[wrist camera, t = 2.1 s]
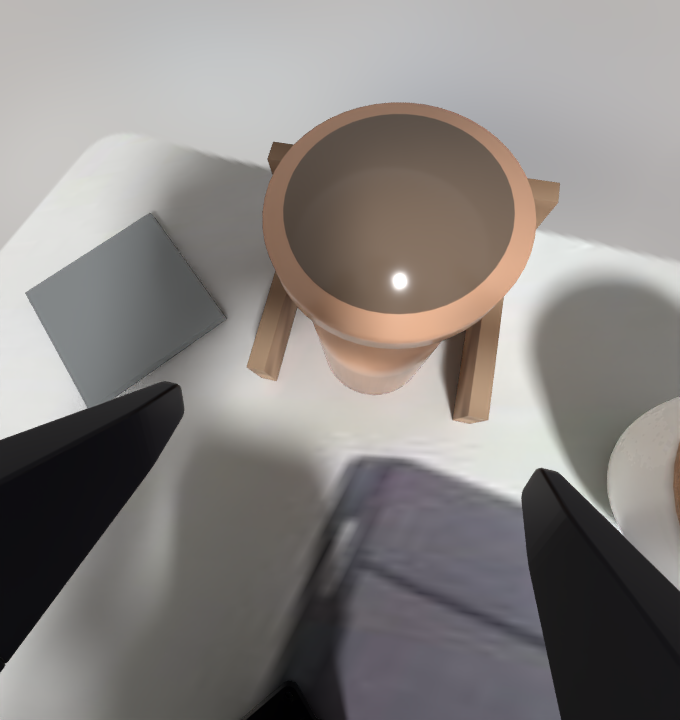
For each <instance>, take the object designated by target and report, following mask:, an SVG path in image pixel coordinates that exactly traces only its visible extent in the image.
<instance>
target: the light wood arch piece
mask: <svg viewBox="0 0 680 720" xmlns="http://www.w3.org/2000/svg"><path fill="white" fill-rule="evenodd" d="M292 146H293V145H292V144H285V143H279V142H273V144H272V147H271V150H270V153H269V156H268V162H269V165H270V168H271V172H272V175H273V174H274V171H275V169H276V168H277V166H278V165H279V163H280V162H281V160H282V158H283V157H284V156H285V155H286V153H287V152H288V151H289V150H290V149H291V147H292ZM527 179H528V178H527ZM528 182H529V184H530V187H531V190H532V194H533V198H534V202H535V210H536V229H537V228H538V226H539V225H540V224H541V223H542V221H543V220H544V219H545V218H546V216H547V215H548V214H549V213H550V212H551V211H552V209H553V208H554V207H555V206H556V205H557V203H558V199H559V188H560V183H555V182H549V181H542V180H535V179H528ZM503 299H504V297H503V298H502V299H501V300H500V301H499V302H498V303H497V304H496V305H495V306H494V307H493V308H492V309H491V310H490V311H489V312H488V313H487V314H486V315H485V316H483V317H482V318H481V319H480V320H479V321H478V322H477V323H475V324H474V325H472V326H471V327H469V328H468V329H466V333H465V340H464V347H463V353H462V360H461V367H460V373H459V380H458V387H457V393H456V400H455V407H454V413H453V420H455V421H459V422H464V423H468V424H471V423H476V422H481V421H486V420H488V418H489V410H490V402H491V394H492V386H493V378H494V370H495V362H496V354H497V346H498V338H499V330H500V322H501V314H502V307H503ZM296 310H297V306H296V305H295V303H294V302H293V301H292V300H291V298H290V297H289V295H288V294H287V292H286V291H285V289H284V287H283V285H282V283H281V281H280V279H279V277H278V275H277V272H276V271H275V274H274V277H273V281H272V284H271V287H270V291H269V294H268V297H267V301H266V304H265V307H264V311H263V314H262V317H261V321H260V324H259V327H258V331H257V334H256V337H255V341H254V344H253V347H252V351H251V354H250V357H249V361H248V364H247V368H248V369H250V370H251V371H253V372H254V373H256V374H257V375H258V376H260V377H261V378H265V379H270V380H274V381H277V378H278V375H279V371H280V367H281V364H282V360H283V357H284V353H285V349H286V346H287V342H288V339H289V335H290V331H291V328H292V324H293V320H294V317H295V313H296Z"/></svg>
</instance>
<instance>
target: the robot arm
mask: <svg viewBox="0 0 680 720" xmlns="http://www.w3.org/2000/svg"><path fill="white" fill-rule="evenodd" d="M183 414H184V403H183V396H182V390H181V387H180V386H179V385H178V384H175V383H171V382H166V381H163V382H160V383H157V384H154V385H151V386H149V387H146V388H143V389H140V390H138V391H135V392H132V393H129V394H126V395H124V396H121V397H118V398H115V399H113V400H110V401H107V402H104V403H102V404H99V405H96V406H93V407H90V408H88V409H85V410H82V411H79V412H77V413H74V414H71V415H68V416H66V417H63V418H60V419H57V420H54V421H52V422H49V423H46V424H43V425H41V426H38V427H35V428H32V429H30V430H27V431H24V432H21V433H18V434H16V435H13V436H10V437H7V438H5V439H2V440H0V672H1V671H2V670H3V668H4V667H5V663H7V662H8V661H9V660H10V658H11V657H12V656H13V654H14V653H15V652H16V650H17V649H18V648H19V646H20V645H21V644H22V642H23V641H24V640H25V638H26V637H27V635H28V634H29V633H30V631H31V630H32V629H33V627H34V626H35V625H36V623H37V622H38V621H39V619H40V618H41V617H42V615H43V614H44V613H45V611H46V610H47V609H48V607H49V606H50V605H51V603H52V602H53V600H54V599H55V598H56V596H57V595H58V594H59V592H60V591H61V590H62V588H63V587H64V586H65V584H66V583H67V582H68V580H69V579H70V578H71V576H72V575H73V574H74V572H75V571H76V570H77V568H78V567H79V565H80V564H81V563H82V561H83V560H84V559H85V557H86V556H87V555H88V553H89V552H90V551H91V549H92V548H93V547H94V545H95V544H96V543H97V541H98V540H99V539H100V537H101V536H102V534H103V533H104V532H105V530H106V529H107V528H108V526H109V525H110V524H111V522H112V521H113V520H114V518H115V517H116V516H117V514H118V513H119V512H120V510H121V509H122V508H123V506H124V505H125V504H126V502H127V501H128V499H129V498H130V497H131V495H132V494H133V493H134V491H135V490H136V489H137V487H138V486H139V485H140V483H141V482H142V481H143V479H144V478H145V477H146V475H147V474H148V472H149V471H150V470H151V468H152V467H153V465H154V464H155V462H156V461H157V459H158V457H159V456H160V454H161V452H162V451H163V449H164V447H165V446H166V444H167V442H168V441H169V439H170V437H171V436H172V434H173V432H174V430H175V429H176V427H177V425H178V424H179V422H180V420H181V419H182V417H183ZM521 499H522V510H523V519H524V529H525V539H526V549H527V557H528V565H529V570H530V575H531V580H532V585H533V590H534V594H535V599H536V604H537V608H538V613H539V618H540V622H541V627H542V632H543V636H544V641H545V646H546V650H547V655H548V660H549V665H550V669H551V674H552V679H553V683H554V688H555V693H556V697H557V702H558V707H559V711H560V716H561V720H680V591H679V590H678V589H677V588H676V587H675V586H674V585H673V584H672V583H671V582H670V581H669V580H668V579H667V578H666V577H665V576H664V575H663V574H662V573H661V572H660V571H659V570H658V569H657V568H656V567H655V566H654V565H653V564H652V563H651V562H650V561H649V560H648V559H647V558H646V557H644V556H643V555H642V554H641V553H640V552H639V551H638V550H637V549H636V548H635V547H634V546H633V545H632V544H631V543H630V542H629V541H628V540H627V539H626V538H625V537H624V536H623V535H622V534H621V533H620V532H619V531H618V530H617V529H616V528H615V527H614V526H613V525H612V524H611V523H610V522H609V521H608V520H607V519H606V518H605V517H604V516H603V515H602V514H601V513H600V512H599V511H597V510H596V509H595V508H594V507H593V506H592V505H591V504H590V503H589V502H588V501H587V500H586V499H585V498H584V497H583V496H582V495H581V494H580V493H579V492H578V491H577V490H576V489H575V488H574V487H573V486H572V485H571V484H570V483H569V482H568V481H567V480H566V479H565V478H564V477H563V476H562V475H561V474H559V473H558V472H556V471H552V470H548V469H544V468H538V469H537V470H535V472H534V473H533V475H532V476H531V478H530V480H529V481H528V483H527V484H526V486H525V487H524V489H523V492H522V498H521ZM286 692H290V693H291V694H292V695H293V698H291V699H289V698H287V697H286V696H285V693H286ZM241 720H321V719H319V718H316V716H315V714H314V713H313V711H312V709H311V707H310V706H309V704H308V702H307V701H306V699H305V697H304V695H303V694H302V692H301V690H300V689H299V687H298V685H297V684H296V683H295V682H293V681H287V682H285V683H283V684H282V685H281V686H280V687H279V688H278V689H276V690H275V691H274V692H273V693H272V694H271V695H269V696H268V697H267V698H266V699H265V700H264V701H262V702H261V703H260V704H259V705H258V706H257V707H255V708H254V709H253V710H252V711H251V712H250V713H248V714H247V715H246V716H245V717H244V718H243V719H241Z"/></svg>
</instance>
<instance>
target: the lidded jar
mask: <svg viewBox="0 0 680 720" xmlns="http://www.w3.org/2000/svg"><path fill="white" fill-rule="evenodd" d="M607 491H608V497H609V502H610V506H611V509H612V512H613V514H614V517H615V520H616V522H617V524H618V526H619V528H620V530H621V532H622V534H623V536H624V537H625V538H626V539H627V540H628V541H629V542H630V543H631V544H632V545H633V546H634V547H635V548H636V549H637V550H638V551H639V552H640V553H641V554H642V555H643V556H644V557H646V558H647V559H648V560H649V561H650V562H651V563H652V564H653V565H654V566H655V567H656V568H657V569H658V570H659V571H660V572H661V573H662V574H663V575H664V576H665V577H666V578H667V579H668V580H669V581H670V582H671V583H672V584H673V585H674V586H675V587H676V588H677V589H678V590H679V591H680V396H679V397H676V398H674V399H671V400H669V401H667V402H664V403H662V404H660V405H658V406H656V407H654V408H652V409H651V410H649V411H647V412H646V413H644V414H643V415H642V416H640V417H639V418H638V419H637V420H635V421H634V422H633V423H632V424H631V425H630V426H629V427H628V428H627V429H626V430H625V431H624V433H623V434H622V435H621V437H620V438H619V439H618V441H617V443H616V445H615V448H614V450H613V452H612V454H611V457H610V461H609V464H608V471H607Z"/></svg>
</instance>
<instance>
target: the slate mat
mask: <svg viewBox="0 0 680 720" xmlns="http://www.w3.org/2000/svg"><path fill="white" fill-rule="evenodd" d="M25 294H26V295H27V297H28V299H29V301H30V303H31V305H32V306H33V308H34V310H35V312H36V314H37V316H38V317H39V319H40V321H41V323H42V325H43V327H44V328H45V330H46V332H47V334H48V336H49V338H50V340H51V341H52V343H53V345H54V347H55V349H56V351H57V352H58V354H59V356H60V358H61V360H62V362H63V363H64V365H65V367H66V369H67V371H68V373H69V374H70V376H71V378H72V380H73V382H74V384H75V385H76V387H77V389H78V391H79V393H80V395H81V397H82V398H83V400H84V402H85V404H86V406H87V408H90V407H93V406H96V405H99V404H102V403H104V402H107V401H110V400H111V399H113V398H114V397H116V396H117V395H119V394H120V393H121V392H123V391H124V390H126V389H127V388H129V387H130V386H132V385H133V384H134V383H136V382H137V381H139V380H140V379H142V378H143V377H144V376H146V375H147V374H149V373H150V372H152V371H153V370H154V369H156V368H157V367H159V366H160V365H162V364H163V363H164V362H166V361H167V360H169V359H170V358H172V357H173V356H174V355H176V354H177V353H179V352H180V351H182V350H183V349H184V348H186V347H187V346H189V345H190V344H192V343H193V342H194V341H196V340H197V339H199V338H200V337H202V336H203V335H204V334H206V333H207V332H209V331H210V330H212V329H213V328H214V327H216V326H217V325H219V324H220V323H222V322H223V321H224V320H226V319H227V318H226V317H225V316H224V314H223V313H222V311H221V310H220V309H219V307H218V306H217V304H216V303H215V302H214V300H213V299H212V297H211V296H210V295H209V293H208V292H207V290H206V289H205V288H204V286H203V285H202V283H201V282H200V281H199V279H198V278H197V276H196V275H195V274H194V272H193V271H192V269H191V268H190V267H189V265H188V264H187V262H186V261H185V260H184V258H183V257H182V255H181V254H180V253H179V251H178V250H177V248H176V247H175V246H174V244H173V243H172V241H171V240H170V238H169V237H168V236H167V234H166V233H165V231H164V230H163V229H162V227H161V226H160V224H159V223H158V222H157V220H156V219H155V218H154V216H153V215H152V214H151V213H149V214H147V215H146V216H144V217H143V218H141V219H140V220H138V221H136V222H135V223H133V224H132V225H130V226H129V227H127V228H126V229H124V230H122V231H121V232H119V233H118V234H116V235H115V236H113V237H111V238H110V239H108V240H107V241H105V242H104V243H102V244H101V245H99V246H97V247H96V248H94V249H93V250H91V251H90V252H88V253H87V254H85V255H83V256H82V257H80V258H79V259H77V260H76V261H74V262H72V263H71V264H69V265H68V266H66V267H65V268H63V269H62V270H60V271H58V272H57V273H55V274H54V275H52V276H51V277H49V278H47V279H46V280H44V281H43V282H41V283H40V284H38V285H37V286H35V287H33V288H32V289H30V290H29V291H27V292H26V293H25Z"/></svg>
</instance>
